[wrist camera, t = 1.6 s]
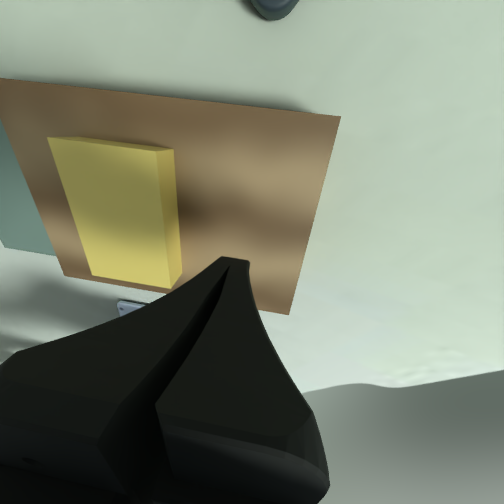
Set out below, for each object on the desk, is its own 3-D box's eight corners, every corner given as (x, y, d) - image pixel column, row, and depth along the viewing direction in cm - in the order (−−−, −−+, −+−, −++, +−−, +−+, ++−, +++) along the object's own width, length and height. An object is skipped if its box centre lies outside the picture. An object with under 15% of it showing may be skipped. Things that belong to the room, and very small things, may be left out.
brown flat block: (288, 285, 21) (288, 315, 18) (98, 253, 22) (64, 275, 19) (327, 120, 14) (341, 116, 11) (50, 88, 16) (-18, 75, 12)
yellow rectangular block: (182, 273, 17) (170, 288, 15) (111, 261, 17) (92, 275, 16) (173, 148, 13) (155, 151, 11) (78, 136, 13) (46, 137, 11)
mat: (100, 261, 23) (98, 263, 23) (7, 246, 24) (4, 247, 23) (55, 105, 16) (51, 104, 16) (-75, 89, 17) (-81, 89, 16)
